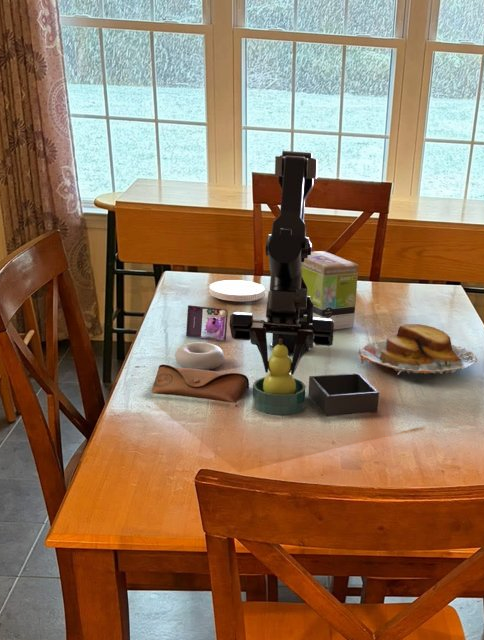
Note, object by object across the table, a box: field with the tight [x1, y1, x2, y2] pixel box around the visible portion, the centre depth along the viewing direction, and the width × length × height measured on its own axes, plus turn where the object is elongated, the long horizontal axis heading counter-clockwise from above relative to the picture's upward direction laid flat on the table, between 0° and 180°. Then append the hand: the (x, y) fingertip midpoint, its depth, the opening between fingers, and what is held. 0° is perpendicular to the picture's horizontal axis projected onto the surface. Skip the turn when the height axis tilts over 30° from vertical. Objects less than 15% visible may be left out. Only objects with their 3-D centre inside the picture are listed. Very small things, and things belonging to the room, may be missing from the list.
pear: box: [263, 339, 296, 395], centre depth 150 cm, size 6×6×12 cm
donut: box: [174, 341, 225, 371], centre depth 169 cm, size 10×4×10 cm
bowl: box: [252, 376, 307, 416], centre depth 152 cm, size 10×10×4 cm
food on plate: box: [358, 323, 478, 376], centre depth 177 cm, size 25×25×7 cm
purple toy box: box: [185, 304, 229, 342], centre depth 184 cm, size 7×5×9 cm
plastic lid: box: [209, 279, 266, 302], centre depth 211 cm, size 14×14×2 cm
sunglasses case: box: [151, 364, 250, 404], centre depth 156 cm, size 18×7×7 cm, turn 84°
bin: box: [307, 372, 380, 417], centre depth 155 cm, size 10×10×5 cm
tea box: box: [302, 250, 359, 331], centre depth 196 cm, size 15×10×15 cm
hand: (279, 372), depth 148 cm, fingers closed on pear, 4 cm apart
